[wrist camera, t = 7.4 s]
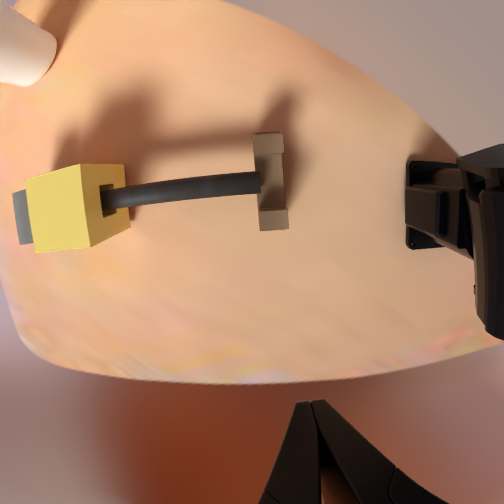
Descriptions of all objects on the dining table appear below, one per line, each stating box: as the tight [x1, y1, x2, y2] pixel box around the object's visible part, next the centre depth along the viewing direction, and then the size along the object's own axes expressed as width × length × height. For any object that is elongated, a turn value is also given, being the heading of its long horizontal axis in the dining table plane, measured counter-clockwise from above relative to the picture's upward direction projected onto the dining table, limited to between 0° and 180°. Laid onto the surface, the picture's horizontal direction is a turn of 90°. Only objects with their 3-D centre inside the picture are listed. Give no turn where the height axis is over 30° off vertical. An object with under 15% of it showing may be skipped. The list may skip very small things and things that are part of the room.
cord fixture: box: [12, 132, 289, 245], centre depth 16 cm, size 18×6×4 cm, turn 94°
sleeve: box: [25, 164, 131, 253], centre depth 16 cm, size 4×4×6 cm
